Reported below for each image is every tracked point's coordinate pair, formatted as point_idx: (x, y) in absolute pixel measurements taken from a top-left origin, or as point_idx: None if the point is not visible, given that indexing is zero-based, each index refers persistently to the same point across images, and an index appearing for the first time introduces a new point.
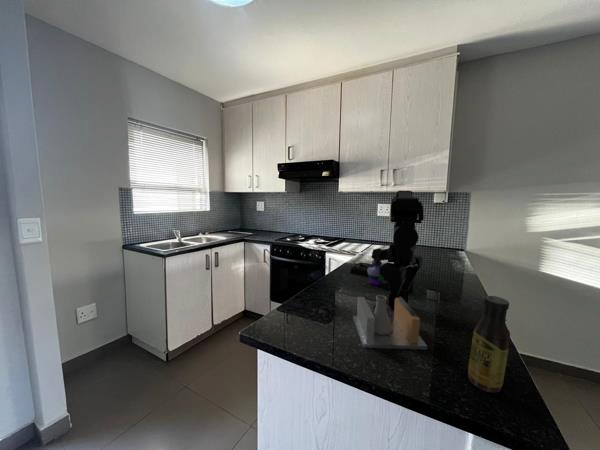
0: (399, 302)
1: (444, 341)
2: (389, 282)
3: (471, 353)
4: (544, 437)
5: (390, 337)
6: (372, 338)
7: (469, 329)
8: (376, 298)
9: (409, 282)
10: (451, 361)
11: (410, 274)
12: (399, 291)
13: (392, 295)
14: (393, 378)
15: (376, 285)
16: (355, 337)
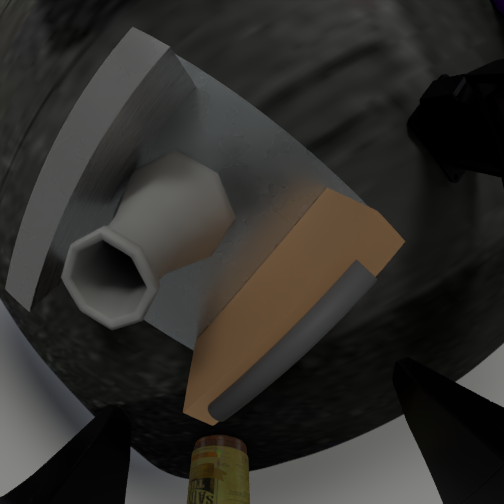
0: (322, 282)
1: (322, 365)
2: (25, 498)
3: (196, 485)
4: (185, 476)
5: (160, 279)
6: None
7: (433, 356)
8: (69, 257)
9: (420, 436)
10: None
11: (459, 493)
12: (124, 484)
13: (100, 421)
14: (64, 357)
15: (496, 6)
16: None
